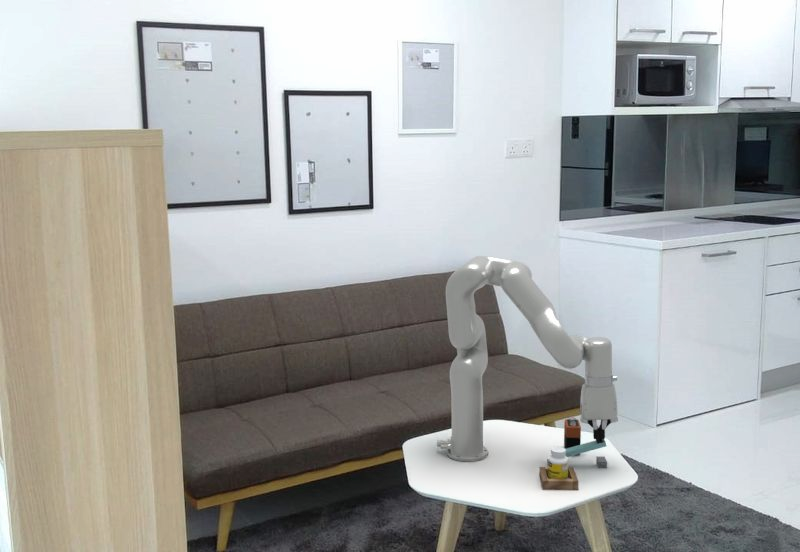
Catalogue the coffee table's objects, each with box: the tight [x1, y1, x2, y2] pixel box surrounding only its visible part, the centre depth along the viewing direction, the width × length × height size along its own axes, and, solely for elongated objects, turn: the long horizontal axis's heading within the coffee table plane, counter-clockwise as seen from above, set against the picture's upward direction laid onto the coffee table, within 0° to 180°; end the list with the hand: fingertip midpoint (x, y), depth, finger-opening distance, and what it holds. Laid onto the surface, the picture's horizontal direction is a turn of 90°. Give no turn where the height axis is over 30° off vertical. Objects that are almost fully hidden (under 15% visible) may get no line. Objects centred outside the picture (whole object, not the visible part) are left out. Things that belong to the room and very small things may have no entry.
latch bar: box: [564, 439, 607, 458], centre depth 248 cm, size 15×3×2 cm, turn 86°
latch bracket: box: [546, 455, 608, 469], centre depth 248 cm, size 17×6×4 cm, turn 87°
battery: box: [563, 416, 582, 456], centre depth 258 cm, size 4×7×10 cm, turn 174°
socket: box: [538, 466, 579, 491], centre depth 237 cm, size 10×10×2 cm
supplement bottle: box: [547, 446, 569, 479], centre depth 236 cm, size 5×5×10 cm
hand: (599, 441), depth 247 cm, fingers closed
